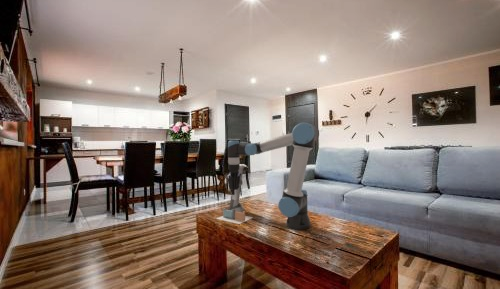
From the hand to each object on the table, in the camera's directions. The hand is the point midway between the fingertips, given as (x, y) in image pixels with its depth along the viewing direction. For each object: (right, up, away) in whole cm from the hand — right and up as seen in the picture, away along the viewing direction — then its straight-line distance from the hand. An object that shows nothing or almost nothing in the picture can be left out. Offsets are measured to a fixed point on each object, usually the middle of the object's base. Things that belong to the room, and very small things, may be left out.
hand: (234, 199), depth 156 cm
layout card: (0, -16, +11) cm, 19 cm away
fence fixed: (-4, -16, +11) cm, 20 cm away
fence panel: (+4, -15, +5) cm, 16 cm away
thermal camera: (-1, -16, +30) cm, 34 cm away
